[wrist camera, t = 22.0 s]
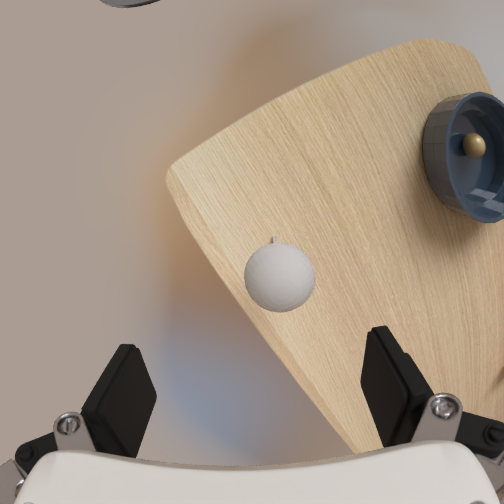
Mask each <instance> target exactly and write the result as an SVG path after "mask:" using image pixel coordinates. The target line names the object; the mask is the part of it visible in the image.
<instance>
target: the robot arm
mask: <svg viewBox="0 0 504 504" xmlns="http://www.w3.org/2000/svg"><path fill="white" fill-rule="evenodd" d="M361 388H362V390H363V393H364V396H365V398H366V401H367V404H368V406H369V409H370V412H371V414H372V417H373V420H374V422H375V425H376V428H377V431H378V433H379V436H380V439H381V442H382V445H383V447H384V448H382V449H377V450H373V451H368V452H364V453H358V454H353V455H348V456H342V457H336V458H330V459H323V460H316V461H309V462H300V463H289V464H278V465H259V466H208V465H189V464H177V463H167V462H159V461H151V460H144V459H136V456H137V454H138V451H139V448H140V445H141V442H142V439H143V436H144V433H145V430H146V428H147V425H148V422H149V419H150V416H151V413H152V411H153V408H154V405H155V402H156V398H157V395H156V391H155V389H154V386H153V384H152V382H151V379H150V376H149V374H148V371H147V368H146V366H145V363H144V361H143V358H142V355H141V352H140V350H139V348H136V346H135V345H133V344H121V345H120V346H119V347H118V349H117V350H116V352H115V354H114V355H113V357H112V359H111V360H110V362H109V364H108V365H107V367H106V368H105V370H104V371H103V373H102V375H101V376H100V378H99V380H98V381H97V383H96V385H95V386H94V388H93V390H92V391H91V393H90V395H89V396H88V398H87V400H86V402H85V403H84V405H83V407H82V411H81V413H80V414H79V413H77V412H67V413H64V414H62V415H60V416H59V417H58V418H57V419H56V420H55V422H54V425H53V431H54V432H52V433H49V434H47V435H44V436H42V437H39V438H37V439H35V440H32V441H29V442H27V443H25V444H22V445H21V446H20V447H19V448H18V449H17V451H16V454H15V460H14V461H13V460H12V459H10V460H8V461H7V462H6V463H4V464H3V465H1V466H0V504H504V423H502V422H500V421H496V420H493V419H489V418H485V417H481V416H478V415H474V414H471V413H467V412H464V411H462V410H463V406H462V403H461V401H460V400H459V399H458V398H457V397H456V396H454V395H452V394H449V393H438V394H436V395H434V393H433V391H432V390H431V388H430V386H429V385H428V383H427V382H426V380H425V378H424V377H423V375H422V374H421V372H420V370H419V369H418V367H417V366H416V364H415V363H414V361H413V359H412V358H411V356H410V355H409V354H408V353H404V352H403V350H402V348H401V347H400V345H399V344H398V342H397V341H396V339H395V338H394V336H393V335H392V333H391V332H390V330H389V329H388V327H387V326H379V327H373V328H372V330H371V331H370V332H368V333H367V340H366V348H365V355H364V362H363V368H362V374H361Z"/></svg>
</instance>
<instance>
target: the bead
mask: <svg viewBox="0 0 504 504" xmlns="http://www.w3.org/2000/svg"><path fill="white" fill-rule="evenodd" d="M463 149H464V151H465V153H466V154H467V155H468V156H469V157H471V158H475V159H476V158H480V157H482V156H483V154H484V153H485V149H486V146H485V142H484V140H483V138H482V137H481V136H480V135H478V134H476V133H469V134H467V135H466V136H465V137H464V139H463Z"/></svg>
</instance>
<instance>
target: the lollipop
mask: <svg viewBox="0 0 504 504" xmlns="http://www.w3.org/2000/svg"><path fill="white" fill-rule="evenodd" d="M272 242H273V244H269V245H265V246H263V247H261V248H260V249H258V250H257V251H256V252H254V253H253V254H252V256H251V257H250V258H249V260H248V262H247V264H246V267H245V273H244V279H245V285H246V288H247V291H248V293H249V295H250V296H251V298H252V299H253V300H254V301H255V302H256V303H257V304H258V305H259V306H260V307H262V308H264V309H266V310H269V311H273V312H287V311H291V310H293V309H295V308H297V307H299V306H301V305H302V304H303V303H305V302H306V301H307V300H308V298H309V297H310V295H311V294H312V292H313V289H314V286H315V272H314V268H313V265H312V263H311V261H310V259H309V258H308V256H307V255H306V254H305V253H304V252H303V251H302V250H301V249H299V248H298V247H296V246H294V245H291V244H287V243H277V242H276V237H275V236H273V237H272Z"/></svg>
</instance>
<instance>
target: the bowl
mask: <svg viewBox="0 0 504 504" xmlns="http://www.w3.org/2000/svg"><path fill="white" fill-rule="evenodd" d="M469 133H476V134H478V135H480V136H481V137H482V138H483V140H484V142H485V146H486V149H485V153H484V154H483V156H482V157H480V158H476V159H475V158H471V157H469V156H468V155H467V154H466V153H465V151H464V149H463V139H464V137H465V136H466V135H467V134H469ZM423 157H424V164H425V168H426V173H427V177H428V179H429V181H430V183H431V186H432V188H433V190H434V192H435V193H436V195H437V196H438V197H439V199H440V200H441V201H442V203H443V204H444V205H446V206H447V207H448V208H450V209H451V210H452V211H454V212H457V213H460V214H462V215H465V216H467V217H470V218H472V219H475V220H478V221H480V222H483V223H496V222H498V221H500V220H502V219H504V104H503V103H502V102H501V101H500V100H498V99H497V98H496V97H494V96H493V95H490V94H487V93H484V92H474V93H468V94H463V95H458V96H453V97H448V98H446V99H445V100H443V101H441V102H440V103H438V104H437V106H436V107H435V108H434V110H433V111H432V112H431V114H430V116H429V118H428V121H427V124H426V126H425V132H424V139H423Z"/></svg>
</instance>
